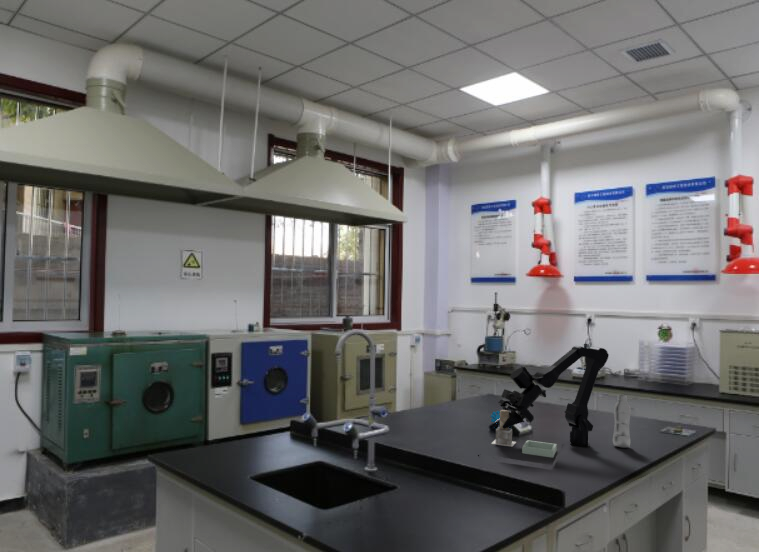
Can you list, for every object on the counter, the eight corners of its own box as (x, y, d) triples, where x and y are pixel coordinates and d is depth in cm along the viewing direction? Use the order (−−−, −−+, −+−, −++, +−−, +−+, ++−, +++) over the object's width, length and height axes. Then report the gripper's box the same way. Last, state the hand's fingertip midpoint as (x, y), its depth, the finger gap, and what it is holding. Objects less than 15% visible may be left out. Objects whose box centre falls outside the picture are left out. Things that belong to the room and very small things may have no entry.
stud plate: (516, 445, 215) (516, 431, 216) (512, 450, 208) (512, 435, 208) (495, 442, 219) (495, 428, 219) (490, 447, 211) (491, 433, 211)
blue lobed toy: (496, 429, 236) (489, 408, 243) (489, 436, 239) (482, 416, 246) (517, 431, 240) (510, 411, 247) (510, 438, 243) (503, 419, 250)
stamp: (511, 442, 215) (512, 410, 215) (509, 445, 210) (510, 412, 210) (498, 440, 217) (499, 408, 217) (495, 443, 212) (496, 411, 212)
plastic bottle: (609, 446, 219) (610, 395, 220) (616, 444, 224) (617, 393, 225) (626, 450, 215) (627, 397, 216) (633, 447, 220) (634, 396, 221)
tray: (556, 454, 205) (556, 444, 205) (553, 461, 195) (553, 450, 195) (526, 450, 209) (527, 440, 209) (522, 457, 199) (522, 446, 200)
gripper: (503, 378, 224) (477, 406, 221) (527, 386, 206) (499, 417, 203) (520, 398, 226) (494, 426, 223) (545, 407, 208) (518, 438, 205)
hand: (500, 426), depth 213 cm, fingers closed on stamp, 3 cm apart
